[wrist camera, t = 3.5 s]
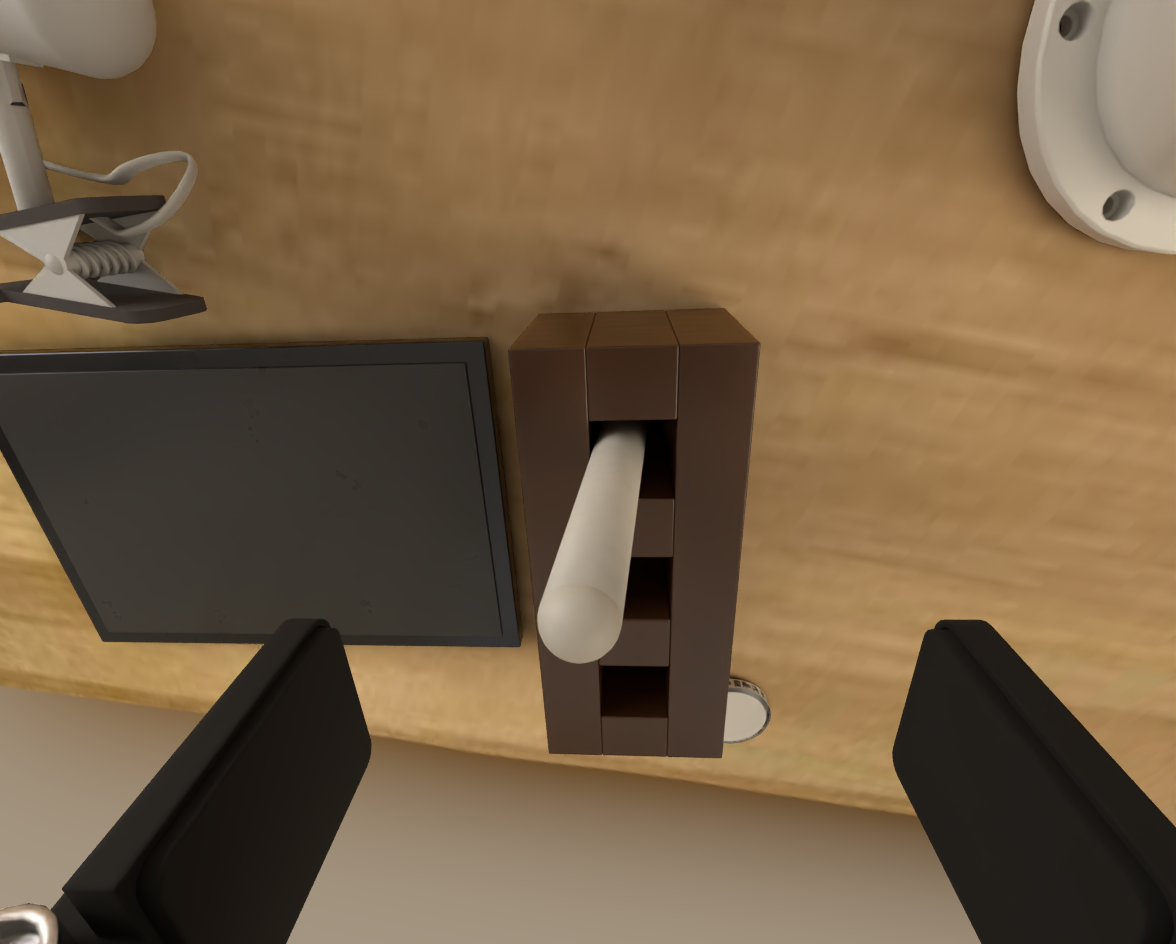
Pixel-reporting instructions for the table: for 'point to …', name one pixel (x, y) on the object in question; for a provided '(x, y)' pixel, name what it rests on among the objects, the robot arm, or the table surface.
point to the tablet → (270, 488)
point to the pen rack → (643, 515)
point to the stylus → (596, 549)
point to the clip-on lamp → (119, 223)
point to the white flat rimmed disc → (745, 712)
